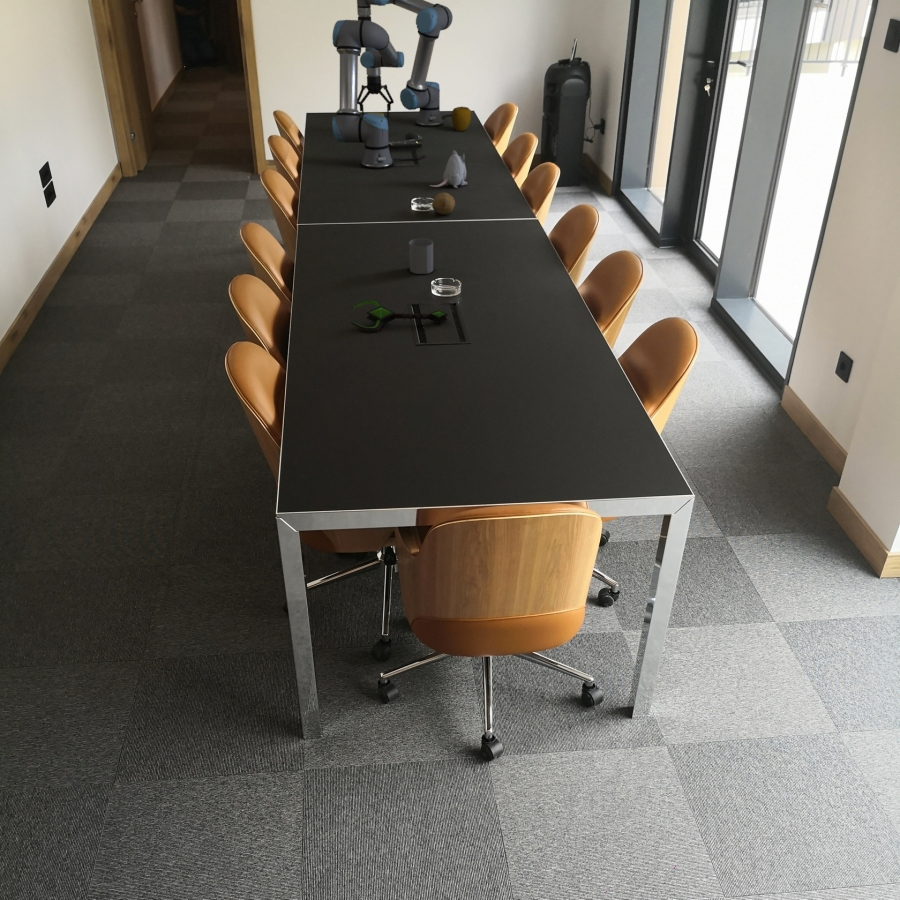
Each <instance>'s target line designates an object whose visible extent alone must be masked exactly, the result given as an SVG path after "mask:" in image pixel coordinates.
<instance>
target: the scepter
mask: <svg viewBox="0 0 900 900" xmlns="http://www.w3.org/2000/svg"><path fill="white" fill-rule="evenodd" d="M364 305H374V306H375V308H373V309H370V310H368V311H366V312H365V313H366V314H367V315H368V316H366V317H365V318H366V319H367V320H369V321H371V322H373V323H375V325H374V326H363V325H361V324H358V323H357V322H353V321H351V322H350V324H352V325H353V326H355V327H356V328H358V329H359V330H361V331H364V332H377V331H379V330H380V329H381V327H382V326H383V325H385V324H387V323H390V322H392V321H394V320H397V319H404V320H406V319H407V320H408V319H409V320H413V319H416V320H430V321H432V322H434V323H436V324H442V323H443V322H446V321H448V318H447V316H449V314H448V313H447V312H445V311H441V310H439V309H438V310H436V311H433V312H430V313H403V312H401V313H396V312H395V311H392V310H391V309H389V308H387V307H385V306H383V305H382V303H381V302H380V301H379V300H378V299H377V300H376V299H365V300H362V301H360V302H358V303H356V304H354V305H352V306H351V309H354V308H358V307H361V306H364Z"/></svg>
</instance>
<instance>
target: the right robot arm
mask: <svg viewBox="0 0 900 900" xmlns="http://www.w3.org/2000/svg"><path fill="white" fill-rule="evenodd" d="M387 5H394V6H396V7H399V8H401V9H404V10H407V11H409V12H412V13H414V14H416V17H415V25H416V29H417V34H418V42H417V47H416V51H415V55H414V60H413V65H412V70H411V74H410V78H409V79H408V80H407V81H406V83H405V84H406V85H405V87H404V88H403V89H402V90H401V91H400V93H399V100H400V103H401V105H402V106H403V107H404V109H406V110H408V111H415V110H417V109H419V111H418V115H417V119H416V125H417V126H419V127H426V128H429V127H432V128H433V127H434V128H435V127H440V126H442V125H444V120H443V119H444V118H445V117H452V113H450V114H444V115H441V114H442V113H441V110H440V109H441V108H440V107H441V106H440V105H441V104H440V103H441V101H440V100H441V98H440V96H441V94H440V93H441V92H440V91H441V89H440V83H438V82H436V81H430V80H429V81H427V78H428V73H429V69H430V65H431V60H432V55H433V52H434V48H435V43H436V40H438V39H439V38H440V34H441V31H445V30H447V29H448V28H450V26H451V25H452V23H453V17H454V16H453V13H452V10H451V9H450V8H449V7H447V6H446V5H444V4H441V3H433V2H429V1H427V0H356V11H357V20H362V21H364V20H367V21H372V6H378V7H385V6H387ZM358 57H361V53H360V54H359V55H358Z"/></svg>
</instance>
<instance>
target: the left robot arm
mask: <svg viewBox="0 0 900 900" xmlns="http://www.w3.org/2000/svg"><path fill="white" fill-rule="evenodd" d="M331 38H332V39H331V40H332V45H333V47H334V48H336V52H337V53H338V54H339V108H338V109H337V111H336V112H335V116H333V117H332V121H331V125H332V133H333V136H334V138H335V140H336V142H337V141H338V142H340V143H356V144H359V143H360V144H364V151H363V155H362V159H361V166H362V167H363V168H366V169H371V170H381V169H387V168H390V167H392V166H394V161H416V160H421V159H422V158H424V157H425V156H426V155H425V154H422V155H421V156H418V157H414V158H413V157H412V158H392V155H391V152H390V151H391V150H390V147H389V145H390V144H389V123H388V118H390V112H391V110H392V105H393V104H394V103H395V102H394V101H395V100H394V99H393V97H392V95H391V93H390V91H389V88H388V84H384V85H383V84H382V76H381V75H382V72H381V69H382V68H393V69H394V68H395V69H398V68H399V69H400V68H403V67H404V65H405V53H404V52H403V51H399V50H396V48H395V47H394V45H393V44H392V42H391V39H390V35H389V33H388V32H387V30H386V29H385V28H384V27H383V26H381V25H379V24H378V23H377V22H375V21H372V20H371V21H367V20H364V21H362V20H358V19H341V20H340V19H339V20H336V22H335V23H334V25H333V30H332V37H331ZM362 49H364V52H362ZM359 54H360V56H358V55H359ZM359 62H360V64H361V66H362V67H363V68H365V69H366V70H365V71H366V85H364V84H361V88H360V92H359V91H358V90H359V89H358V88H359V87H358V86H359V85H358V84H359V83H358V82H359V81H358V80H359V79H358V77H359V76H358V75H359V73H358V71H359ZM382 89H383V90H384V91H385V93H386V94H387V96H386V95H385V94H384V93H383V91H382ZM365 90H367V91H366V93H365V95H364V96H363V94H364V91H365ZM358 92H359V94H358ZM370 95H380V96H381V97H382V98H383V100H384V101H385V102H386V113H387V116H386V117H385V115H384V116H381V115H378V114H368V113H365V111H364V102H365V101H366V100H367V98H368V97H369V96H370ZM362 96H363V97H362ZM387 97H388V98H387ZM361 98H362V99H361ZM358 105H359V110H358ZM361 116H362V117H361Z"/></svg>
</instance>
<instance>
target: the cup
mask: <svg viewBox="0 0 900 900" xmlns="http://www.w3.org/2000/svg"><path fill="white" fill-rule="evenodd" d="M408 253H409V272H411V273H412V274H416V275H426V274H430V273H432V272H434V241H433V240H431V239H428V238H422V237H421V238H420V237H419V238H414V239H411V240H410V241H409V242H408Z"/></svg>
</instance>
